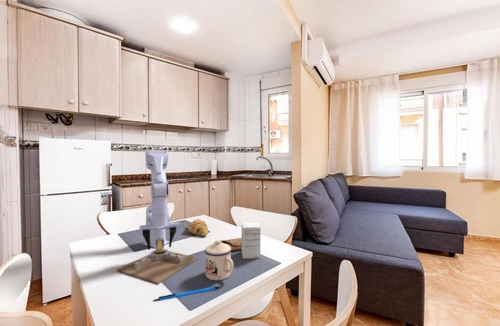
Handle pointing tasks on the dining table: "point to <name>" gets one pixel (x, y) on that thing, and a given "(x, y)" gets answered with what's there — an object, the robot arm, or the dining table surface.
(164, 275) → the board
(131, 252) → the dining table surface
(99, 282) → the dining table surface
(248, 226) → the supplement box
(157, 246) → the brass pin
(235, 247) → the sunglasses case
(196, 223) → the croissant
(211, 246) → the teacup with lid
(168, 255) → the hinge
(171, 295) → the pen
